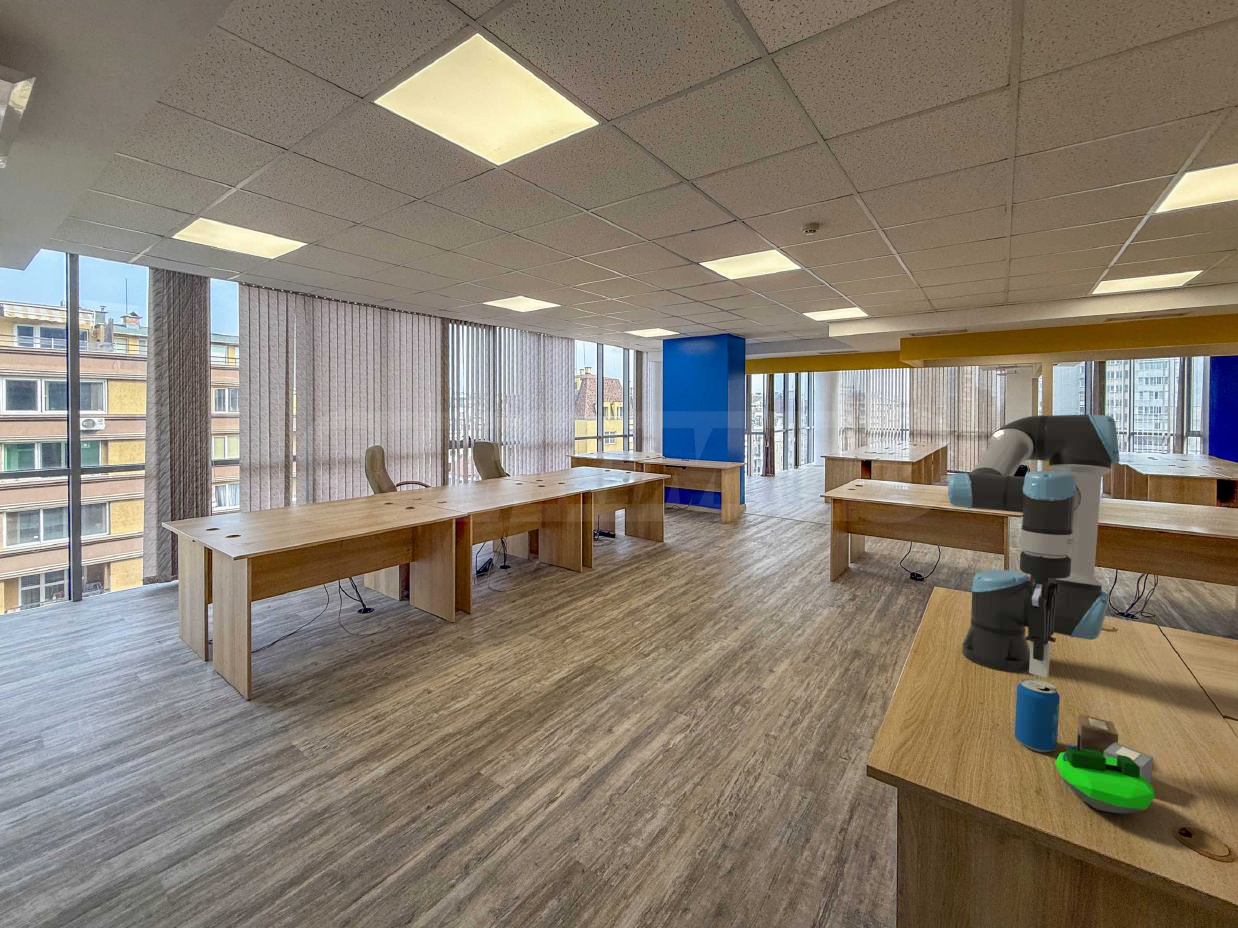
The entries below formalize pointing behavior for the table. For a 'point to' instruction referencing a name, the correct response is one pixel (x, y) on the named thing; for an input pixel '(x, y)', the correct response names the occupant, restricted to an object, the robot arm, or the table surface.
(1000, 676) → the table surface
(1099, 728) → the walnut block
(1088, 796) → the green toy boat
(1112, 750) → the slate block
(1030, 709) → the beverage can
